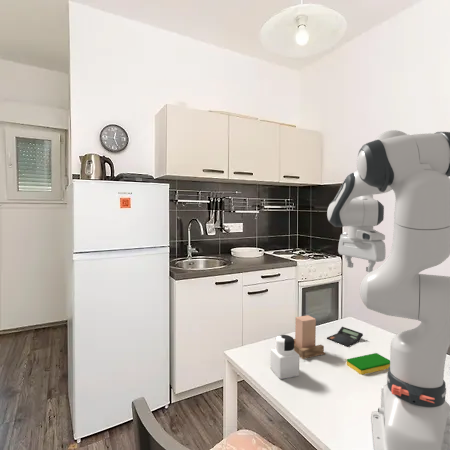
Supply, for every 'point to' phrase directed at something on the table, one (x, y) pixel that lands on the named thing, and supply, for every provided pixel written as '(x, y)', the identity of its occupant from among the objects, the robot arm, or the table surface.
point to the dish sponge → (368, 363)
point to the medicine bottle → (284, 358)
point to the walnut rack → (309, 351)
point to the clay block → (305, 331)
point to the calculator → (346, 337)
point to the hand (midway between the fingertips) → (359, 269)
